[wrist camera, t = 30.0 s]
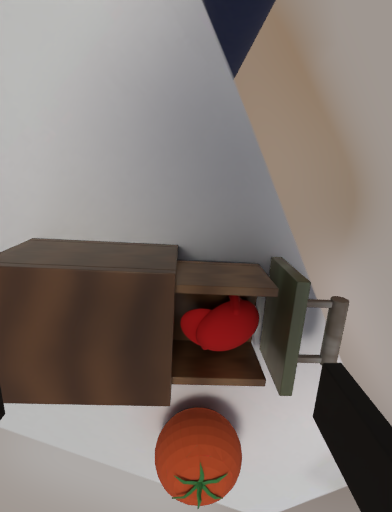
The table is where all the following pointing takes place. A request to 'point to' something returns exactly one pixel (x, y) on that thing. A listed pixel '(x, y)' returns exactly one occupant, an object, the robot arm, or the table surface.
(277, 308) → the drawer
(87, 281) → the cabinet
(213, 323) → the cap
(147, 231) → the table surface
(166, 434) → the tomato
